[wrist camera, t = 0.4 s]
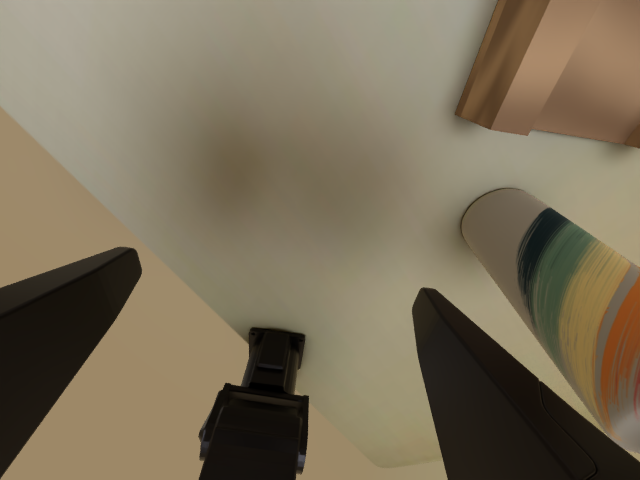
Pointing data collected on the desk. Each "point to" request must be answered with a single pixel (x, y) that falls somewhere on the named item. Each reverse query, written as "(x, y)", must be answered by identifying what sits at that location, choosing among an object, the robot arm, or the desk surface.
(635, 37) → the cradle
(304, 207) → the desk surface
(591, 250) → the lotion bottle
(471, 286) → the desk surface
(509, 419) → the robot arm
